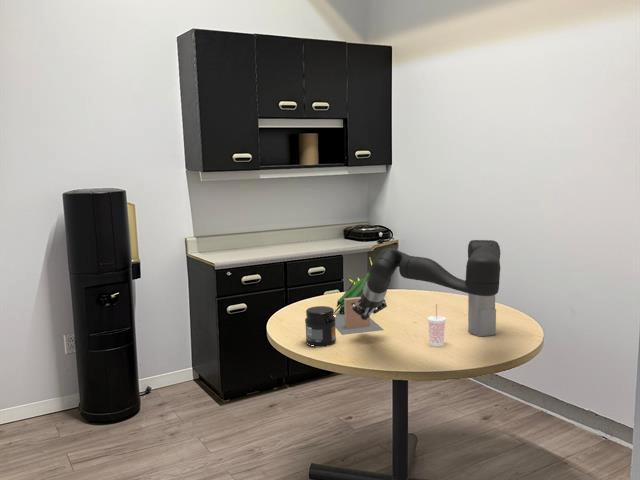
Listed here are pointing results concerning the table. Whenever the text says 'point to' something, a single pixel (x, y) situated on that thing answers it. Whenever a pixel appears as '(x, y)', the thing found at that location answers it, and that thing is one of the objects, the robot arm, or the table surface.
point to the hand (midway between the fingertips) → (364, 317)
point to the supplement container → (320, 326)
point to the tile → (353, 315)
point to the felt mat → (341, 328)
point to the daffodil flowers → (353, 291)
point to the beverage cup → (436, 329)
